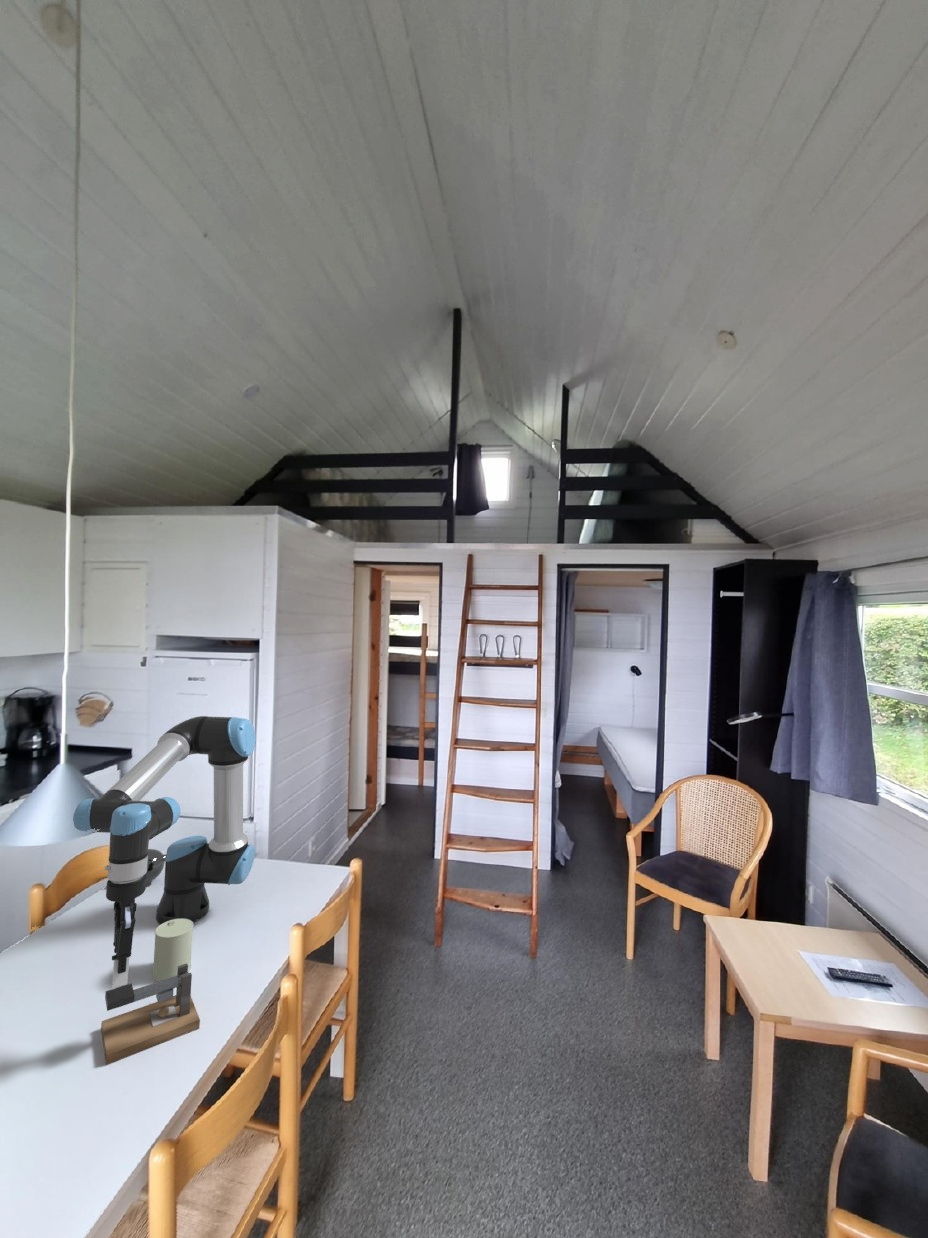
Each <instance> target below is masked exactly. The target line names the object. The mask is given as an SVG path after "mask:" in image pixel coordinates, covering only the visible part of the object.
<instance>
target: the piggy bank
mask: <svg viewBox="0 0 928 1238" xmlns="http://www.w3.org/2000/svg"><path fill="white" fill-rule="evenodd" d="M165 859H166V854H163V852H161V850H158V849H155V848H148V864H147V872H146V888H147V887H150V886H151V885H152V882H153V881H154V880H155V879H157V878H158V877H159V876H160V875H161V874H162V872H163V869H164V868H165Z"/></svg>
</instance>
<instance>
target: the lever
mask: <svg viewBox="0 0 928 1238" xmlns="http://www.w3.org/2000/svg"><path fill="white" fill-rule="evenodd" d="M188 973H189V972H188V971H183V972H181V973H180V974H179V975H177V976H174V977H171V978H168V979H165V980H162V981H156V982H153V983H149V984H147V985H144V986H141V987H139V988H135V989H134V987H133V983H132V982H131V983H127V984H126V985H123V986H119V987H116V988H111V989H109V990H106V991H105V995H104V998H105V1000H104V1001H105V1006H106V1012H108V1011H111V1010H115V1009H117V1008H121V1007H125V1006H127V1005H129V1004H133V1003H135V1002H138V1001H142V1000H145V999H147V998H150V997H153V996H155V995H156V996H155V997H156V998H155V999H156V1002H158V1004H159V1003H162V1002H165V1001H168V1000H171V999H173V996H174V989H177V987H180V986H181V976H182V975H185V974H188Z"/></svg>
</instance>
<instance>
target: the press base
mask: <svg viewBox="0 0 928 1238" xmlns="http://www.w3.org/2000/svg"><path fill="white" fill-rule="evenodd" d="M183 971H188V964H187V963H186V964H183V965H180V966H178V973H177V975H179V974H180V973H181V972H183ZM192 976H193V974H192V972H188V974H185V975H182V976H181V986H180V987H177V988H176V991H175V992H176V994H175V995H173V999H171V1000H168V1001H165V1002H162V1003H159V1004H158V1001H155V1002H153V1003H149V1004H147V1005H144V1006H141V1007H139V1008H135V1009H133V1010H129V1011H127V1012H124V1013H121V1014H118V1015H116V1016H115V1015H114V1016H113V1017H110V1018H107V1019H104V1020H102V1021H101V1023H100V1024H101V1027H100V1031H101V1038H102V1046H103V1053H104V1059H105V1066H107V1065H110V1064H114V1063H115V1062H118V1061H120V1060H123V1059H125V1058H128V1057H130V1056H133V1055H136V1054H138V1053H141V1052H143V1051H146V1050H148V1049H151V1048H153V1047H156V1046H159V1045H160V1044H161V1045H162V1044H163V1043H166V1042H168V1041H172V1040H174V1039H176V1038H178V1037H181V1036H183V1035H186V1034H189V1033H191V1032H193V1031H196V1030H198V1029H200V1024H201V1023H200V1022H201V1019H200V1017H199V1014H198V1012H197V1011H198V1010H197V1009H196V1006H195V1004H194V1003H195V1002H194V1001H193V998H192V996H191V995H192V980H193V979H192V978H193V977H192Z"/></svg>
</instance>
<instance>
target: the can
mask: <svg viewBox="0 0 928 1238" xmlns="http://www.w3.org/2000/svg"><path fill="white" fill-rule="evenodd" d="M193 931H194V922H192V921H191V920H189V919H174V920H170V921H167V922H165V923H163V924H160V925H158V926H157V927H156V928H155V931H154V953H153V968H152V974H151V977H152V979H153V980H154V981H156V982H159V981H162V980H165V979H168V978H171V977H174V976H177V973H178V966H180V965H183V964H186V963H187V964H188V973H190V972H191V971H190V970H191V969H192V948H193V947H192V946H193V945H192V944H193Z"/></svg>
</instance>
